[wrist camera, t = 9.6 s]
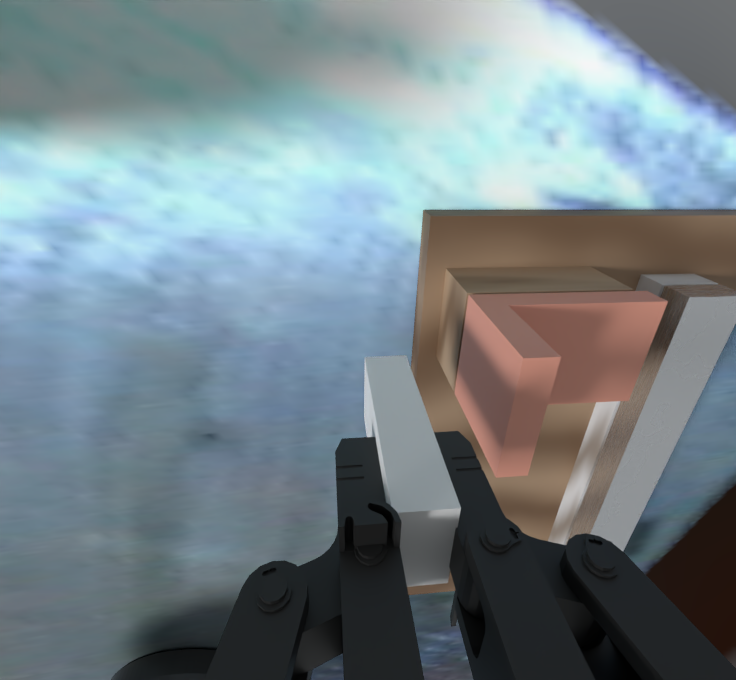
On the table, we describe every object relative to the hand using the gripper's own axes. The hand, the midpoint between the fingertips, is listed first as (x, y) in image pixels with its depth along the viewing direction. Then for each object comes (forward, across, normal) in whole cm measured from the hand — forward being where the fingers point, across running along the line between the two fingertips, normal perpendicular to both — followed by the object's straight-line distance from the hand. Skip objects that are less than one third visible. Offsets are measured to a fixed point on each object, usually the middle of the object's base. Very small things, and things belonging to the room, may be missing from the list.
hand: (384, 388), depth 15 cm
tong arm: (+5, -16, +10) cm, 19 cm away
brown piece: (+8, -12, +10) cm, 17 cm away
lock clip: (+3, -8, 0) cm, 8 cm away
